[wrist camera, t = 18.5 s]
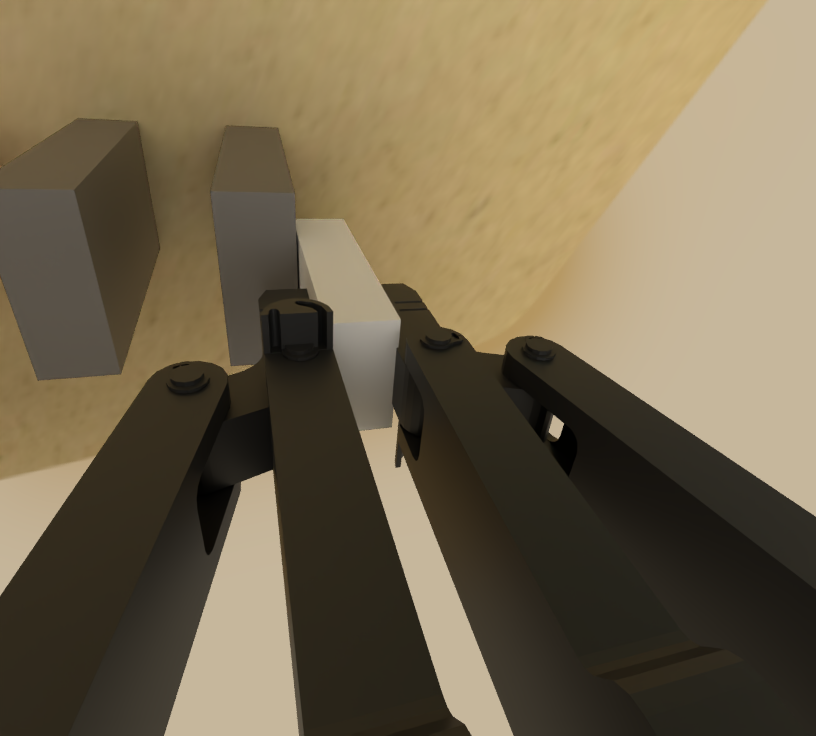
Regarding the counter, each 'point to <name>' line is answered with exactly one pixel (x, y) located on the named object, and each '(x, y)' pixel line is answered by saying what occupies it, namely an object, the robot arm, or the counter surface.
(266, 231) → the domino
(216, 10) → the counter surface
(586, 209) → the counter surface
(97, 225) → the domino
